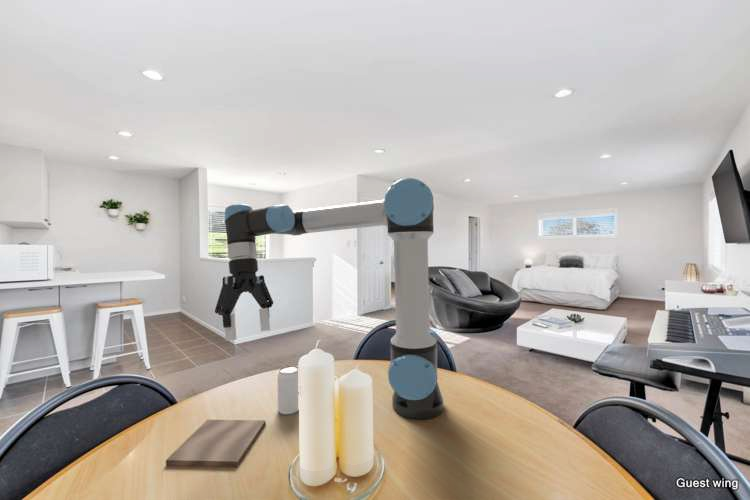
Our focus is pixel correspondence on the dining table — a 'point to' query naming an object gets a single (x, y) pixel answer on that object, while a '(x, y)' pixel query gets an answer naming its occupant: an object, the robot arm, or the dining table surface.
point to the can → (288, 390)
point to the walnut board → (217, 443)
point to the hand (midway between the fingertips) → (249, 335)
